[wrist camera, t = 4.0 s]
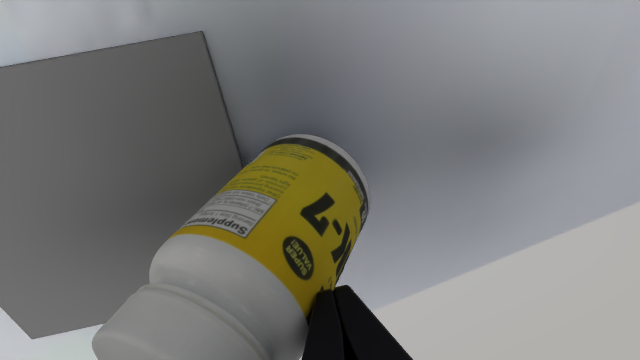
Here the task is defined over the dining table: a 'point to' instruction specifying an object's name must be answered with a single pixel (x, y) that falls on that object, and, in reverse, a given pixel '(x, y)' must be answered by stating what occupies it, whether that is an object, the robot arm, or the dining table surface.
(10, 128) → the mat
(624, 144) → the dining table surface
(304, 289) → the supplement bottle
